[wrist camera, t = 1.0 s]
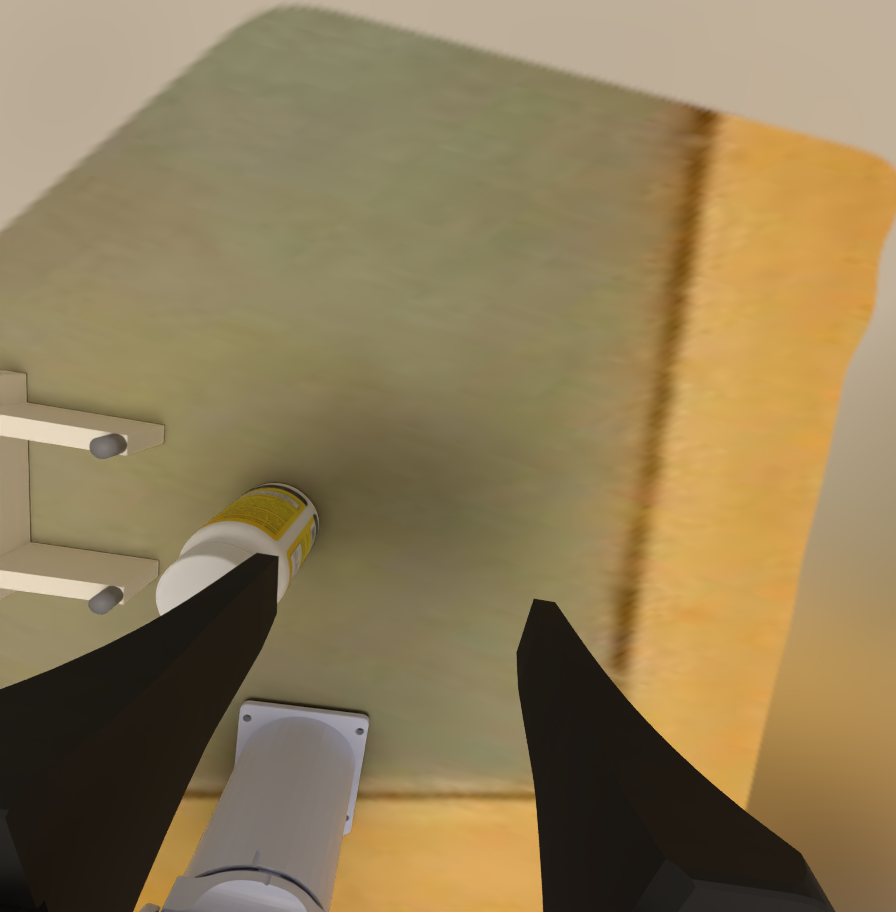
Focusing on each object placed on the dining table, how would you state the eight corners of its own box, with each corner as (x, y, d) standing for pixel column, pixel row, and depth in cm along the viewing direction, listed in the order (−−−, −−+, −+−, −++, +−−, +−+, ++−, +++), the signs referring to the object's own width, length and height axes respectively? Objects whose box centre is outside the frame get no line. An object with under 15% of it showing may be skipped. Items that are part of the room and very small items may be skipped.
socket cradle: (157, 599, 26) (109, 642, 22) (13, 579, 25) (-62, 620, 22) (165, 397, 24) (113, 406, 20) (5, 370, 23) (-82, 373, 19)
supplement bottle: (220, 501, 25) (118, 573, 17) (295, 468, 25) (229, 524, 16) (262, 571, 26) (186, 672, 18) (335, 540, 26) (291, 628, 18)
